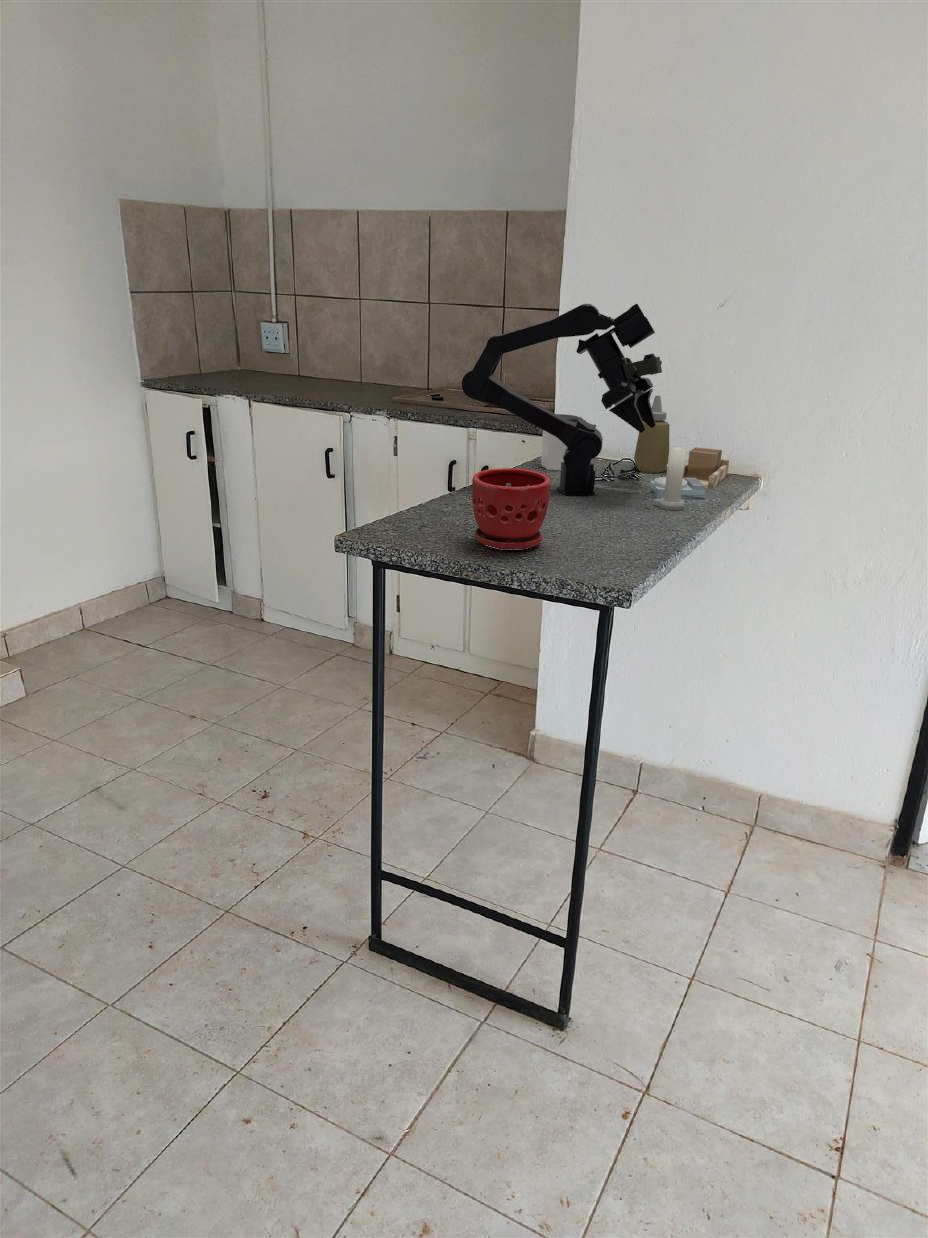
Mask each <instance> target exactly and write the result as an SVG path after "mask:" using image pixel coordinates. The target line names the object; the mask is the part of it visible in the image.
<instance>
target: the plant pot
mask: <svg viewBox="0 0 928 1238" xmlns="http://www.w3.org/2000/svg"><path fill="white" fill-rule="evenodd" d="M471 481H472V483H471V502H472V503H471V504H472V509H473V516H474V518H475V522H476V524H477V527H478V528H476V529H475V531H474V537H475V539H476V541H477V542H478V541H479V542H480V543H479V542H478V543H479V544H481V543H482V544H484V545H488V546H491V547H495V548H499V549H526V548H530V549H532V548H531V547H533V548H535V547H536V546H537V545H539V544H540V543H541V542H542V539H543V534H542V532H541V531H540V529H541V527H542V525H543V523H544V520H545V518H546V515H547V513H548V512H547V511H548V507H549V500H550V494H551V493H550V492H551V479H550V477H549V476H548V475H546V474H543V473H541V472H538V471H535V470H530V469H523V468H512V467H508V468H506V467H505V468H504V467H503V468H501V467H500V468H490V469H485V470H480V471H478V472H476V473H474V475H473V476H472V480H471ZM507 484H510V486H507ZM536 501H537V503H536ZM482 544H481V545H482ZM484 545H483V546H484ZM534 546H535V547H534Z"/></svg>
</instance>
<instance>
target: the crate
mask: <svg viewBox="0 0 928 1238" xmlns="http://www.w3.org/2000/svg"><path fill="white" fill-rule="evenodd" d="M722 453H723V449H716V448H709V447H708V448H707V447H698V446H697V447H693V448H692V449H691V450H689V453H688V461H687V462H688V469H687V477H686V478H697V479H700V480H709V477H710V476H711V475H712V474H713V473H714V472H715V471H717V470H718V469H719V468H720V462H721V459H722Z"/></svg>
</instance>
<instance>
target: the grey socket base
mask: <svg viewBox="0 0 928 1238" xmlns="http://www.w3.org/2000/svg"><path fill="white" fill-rule="evenodd" d="M665 485H666V476H662V477H661V476H659V477H655V478H654V480H650V481H649V486H650V488H651V489H652V490H650V492H651V493H652V495H653V497H655V499H660V498H663V497H664V494H665ZM700 496H706V488H705V485H703V484H702V483H701V482H700V481H699V480H698V479H697V478H685V480H684V479H683V480H682V488H681V497H680V499H683V500H698V501H699V500H700V501H701V500H703V501H704V500H705V497H700Z"/></svg>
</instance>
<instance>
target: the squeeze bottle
mask: <svg viewBox="0 0 928 1238" xmlns="http://www.w3.org/2000/svg"><path fill="white" fill-rule="evenodd" d="M662 406H663V405H662V397H661V395H655V396H654V398H653V403H652V404H651V408H652V412H653V416H654V419H655V423H656V426H654V427H653V428H651V427H649V426H648V425H647V424H646V423H645V422H644V421H643V424H644V427H645V431H643V432H642V433H640V432H639V431H638V435H637V436H638V437H637V441H636V447H635V450H634V451H635V452H634V456H633V460H634V463H635V468H636V467H637V468H638V469H639V472H642V473H645V474H646V473H649V474H660V473H661V474H662V473H664V472H665V470H666V469H667V467H668V458H669V449H670V426H671V425H670V423H669V422H668V421H666V420H667V412H666V411H663V407H662ZM637 468H636V469H637Z"/></svg>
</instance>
